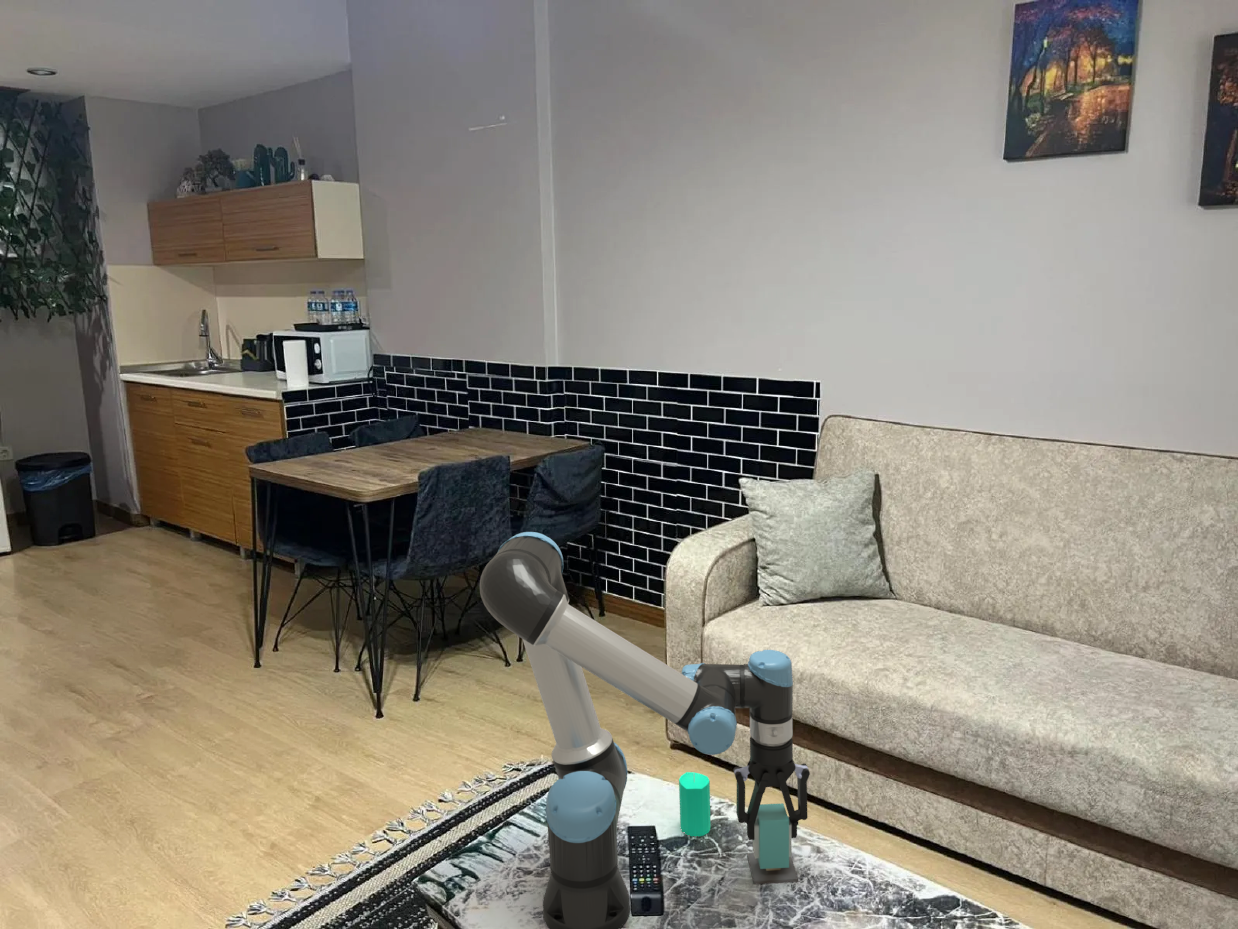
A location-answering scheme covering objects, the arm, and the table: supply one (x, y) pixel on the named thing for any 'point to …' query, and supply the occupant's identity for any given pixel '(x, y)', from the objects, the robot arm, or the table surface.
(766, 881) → the gray square base stand
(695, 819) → the candle
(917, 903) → the table surface
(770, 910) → the table surface
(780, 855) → the turquoise rectangular block
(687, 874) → the table surface
